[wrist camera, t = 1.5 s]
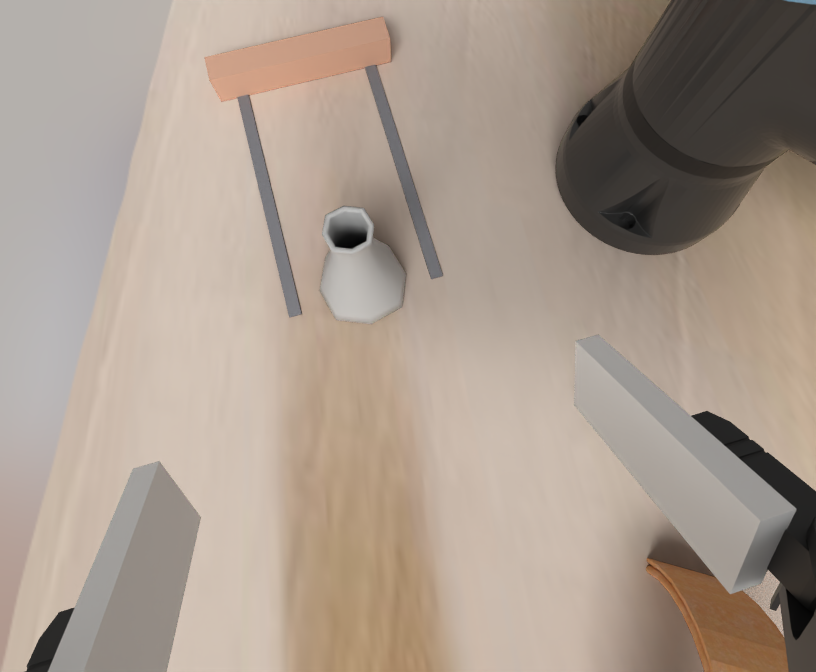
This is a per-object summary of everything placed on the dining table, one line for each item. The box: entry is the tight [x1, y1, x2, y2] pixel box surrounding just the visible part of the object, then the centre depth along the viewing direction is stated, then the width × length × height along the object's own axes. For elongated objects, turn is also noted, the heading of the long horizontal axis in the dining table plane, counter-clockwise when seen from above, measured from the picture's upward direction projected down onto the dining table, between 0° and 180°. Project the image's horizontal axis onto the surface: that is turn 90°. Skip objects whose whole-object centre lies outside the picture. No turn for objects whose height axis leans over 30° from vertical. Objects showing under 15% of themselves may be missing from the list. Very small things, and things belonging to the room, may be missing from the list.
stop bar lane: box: [204, 17, 443, 317], centre depth 37 cm, size 16×24×2 cm
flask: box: [320, 206, 406, 324], centre depth 31 cm, size 7×7×10 cm
